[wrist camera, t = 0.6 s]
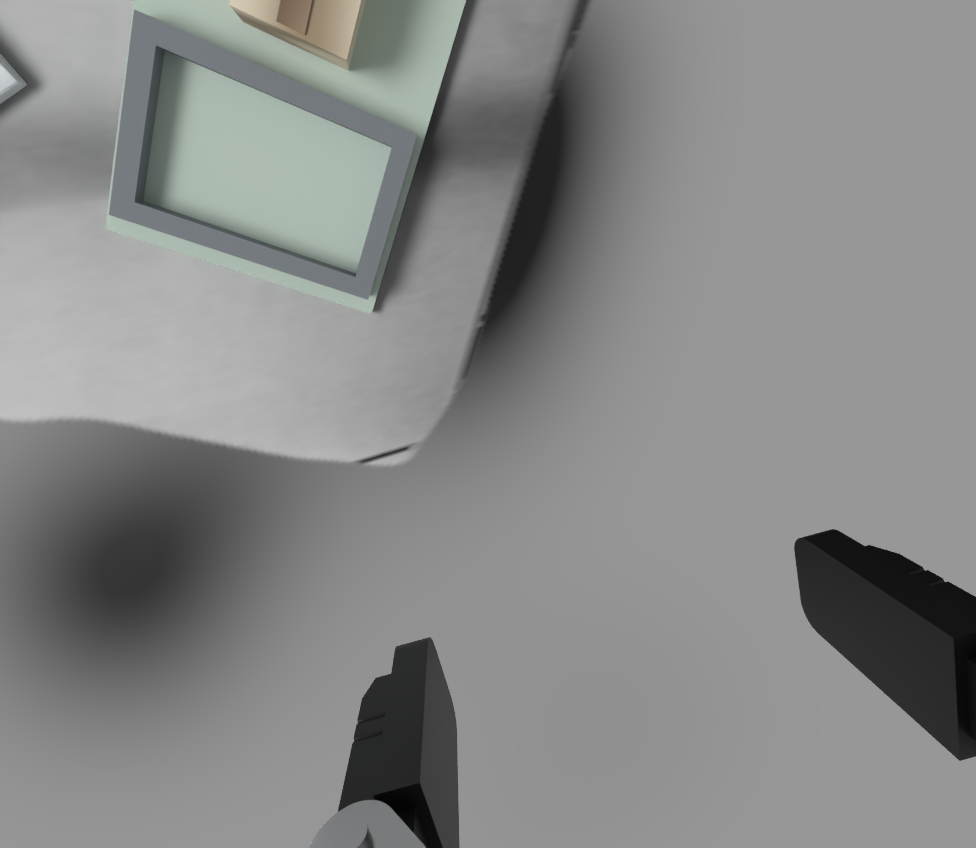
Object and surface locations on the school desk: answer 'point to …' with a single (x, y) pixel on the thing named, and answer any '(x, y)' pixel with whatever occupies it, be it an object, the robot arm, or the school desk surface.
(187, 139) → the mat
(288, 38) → the beige grooved block
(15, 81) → the external hard drive
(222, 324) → the school desk surface
